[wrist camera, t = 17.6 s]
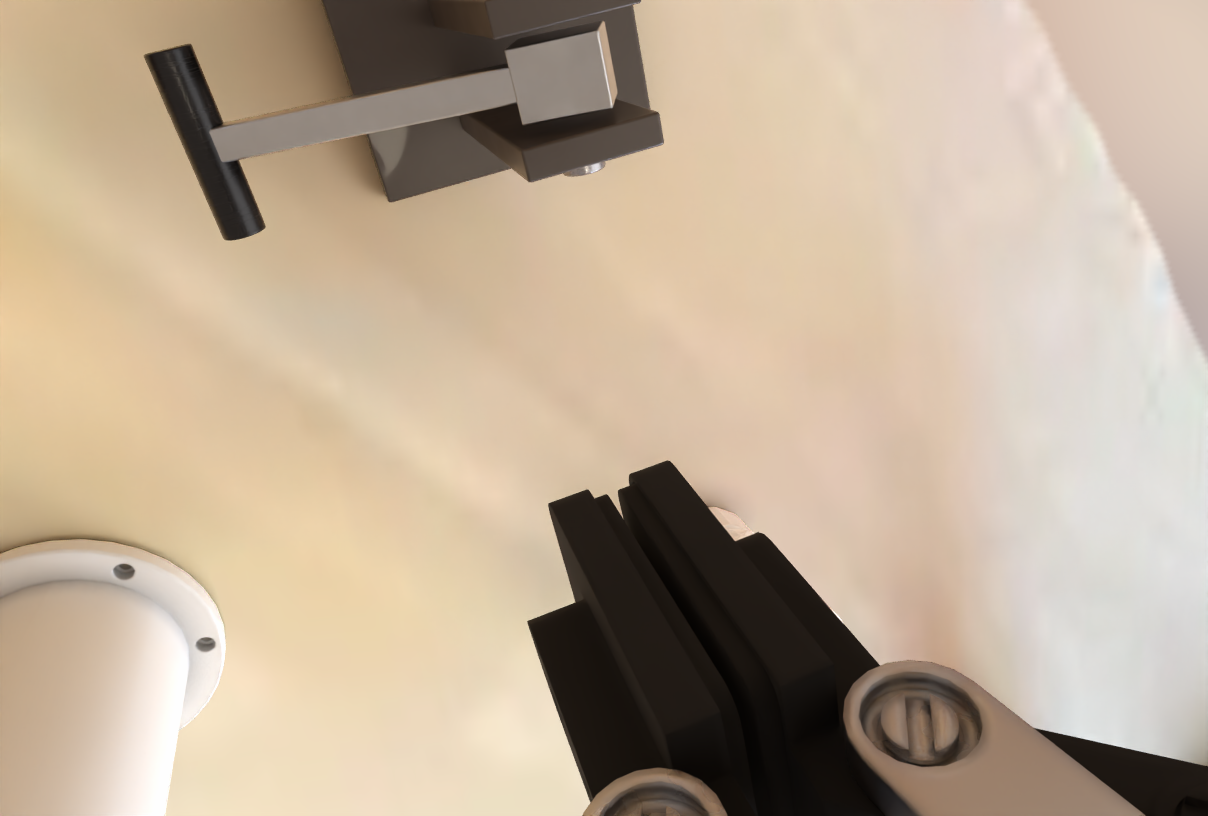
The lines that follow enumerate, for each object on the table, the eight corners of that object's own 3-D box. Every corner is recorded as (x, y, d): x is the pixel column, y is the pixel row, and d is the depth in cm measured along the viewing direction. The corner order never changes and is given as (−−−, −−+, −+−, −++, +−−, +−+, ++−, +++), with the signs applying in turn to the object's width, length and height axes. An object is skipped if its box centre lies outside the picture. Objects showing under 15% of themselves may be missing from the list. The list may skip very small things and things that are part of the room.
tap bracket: (386, 197, 36) (425, 283, 25) (309, -35, 32) (315, -52, 21) (644, 125, 39) (782, 175, 28) (605, -102, 34) (751, -149, 23)
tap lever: (241, 225, 30) (209, 248, 28) (166, 48, 27) (124, 59, 25) (629, 152, 28) (625, 172, 26) (591, -49, 25) (584, -46, 23)
